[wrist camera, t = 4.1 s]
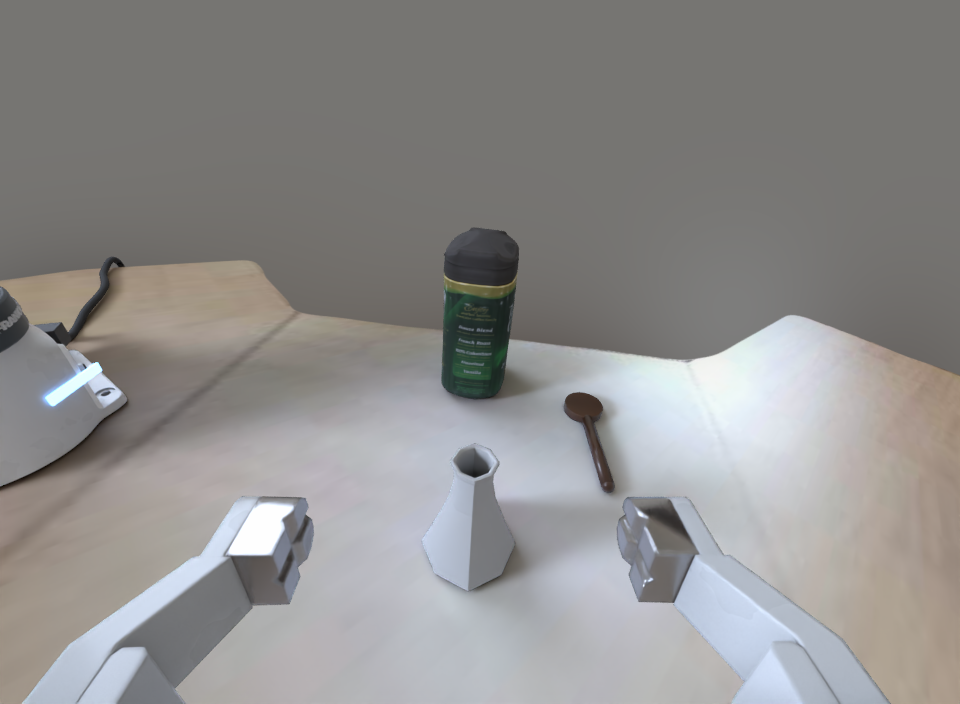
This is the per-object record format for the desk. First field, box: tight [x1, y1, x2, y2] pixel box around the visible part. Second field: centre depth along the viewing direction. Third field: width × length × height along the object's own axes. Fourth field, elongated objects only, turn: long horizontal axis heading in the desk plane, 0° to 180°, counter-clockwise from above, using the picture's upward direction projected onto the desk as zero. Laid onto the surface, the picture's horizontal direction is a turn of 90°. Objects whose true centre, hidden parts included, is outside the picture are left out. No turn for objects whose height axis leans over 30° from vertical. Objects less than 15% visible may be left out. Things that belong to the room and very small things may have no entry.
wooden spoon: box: [564, 392, 615, 493], centre depth 43 cm, size 14×4×1 cm, turn 0°
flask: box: [422, 443, 515, 591], centre depth 30 cm, size 7×7×10 cm
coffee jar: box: [442, 228, 519, 398], centre depth 46 cm, size 10×8×19 cm
